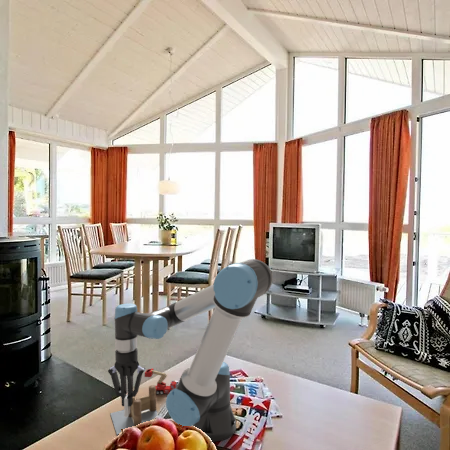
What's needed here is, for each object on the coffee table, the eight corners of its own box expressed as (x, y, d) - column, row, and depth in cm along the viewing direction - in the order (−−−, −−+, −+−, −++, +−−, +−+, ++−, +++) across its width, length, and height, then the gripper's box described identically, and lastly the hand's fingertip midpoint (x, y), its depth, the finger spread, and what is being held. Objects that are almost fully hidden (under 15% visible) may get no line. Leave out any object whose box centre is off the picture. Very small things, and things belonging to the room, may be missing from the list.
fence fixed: (157, 411, 134) (156, 387, 134) (129, 418, 130) (128, 394, 129) (155, 407, 137) (154, 384, 136) (127, 415, 132) (126, 391, 132)
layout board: (162, 422, 127) (162, 421, 127) (117, 435, 120) (116, 434, 120) (151, 403, 140) (151, 402, 140) (110, 414, 133) (110, 413, 133)
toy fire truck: (176, 394, 146) (176, 372, 146) (144, 394, 148) (144, 371, 148) (178, 391, 150) (177, 368, 150) (147, 390, 151) (146, 368, 151)
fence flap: (134, 411, 133) (133, 389, 133) (142, 425, 124) (141, 401, 124) (127, 414, 132) (126, 391, 132) (135, 428, 123) (134, 403, 122)
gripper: (147, 345, 126) (148, 409, 127) (112, 344, 127) (113, 408, 128) (141, 353, 119) (141, 421, 119) (104, 352, 119) (105, 420, 120)
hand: (127, 414), depth 124 cm, fingers closed
